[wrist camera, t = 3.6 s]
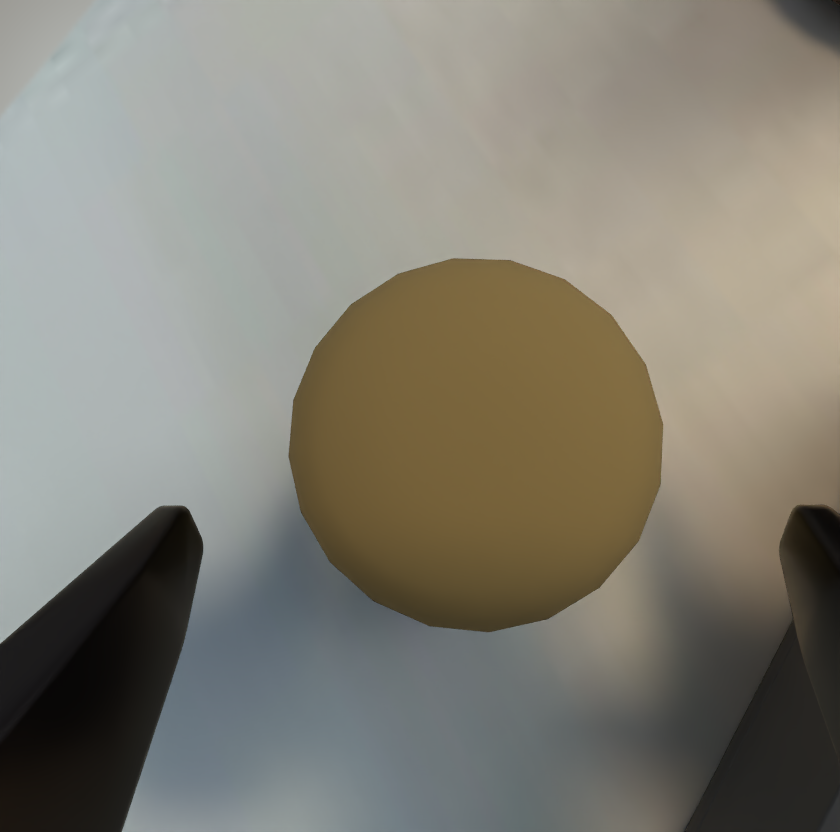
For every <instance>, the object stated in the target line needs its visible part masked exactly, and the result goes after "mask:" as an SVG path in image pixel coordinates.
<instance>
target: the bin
mask: <svg viewBox="0 0 840 832" xmlns="http://www.w3.org/2000/svg"><path fill="white" fill-rule="evenodd" d="M685 832H840V763H839V760H838V757H837V755H836V752H835V749H834V746H833V743H832V740H831V738H830V735H829V732H828V729H827V726H826V723H825V721H824V718H823V715H822V712H821V709H820V706H819V704H818V701H817V698H816V695H815V692H814V689H813V687H812V684H811V681H810V678H809V675H808V672H807V669H806V666H805V663H804V660H803V657H802V653H801V649H800V645H799V641H798V636H797V632H796V627H795V623H794V620H793V622H792V624H791V626H790V627H789V629H788V631H787V633H786V635H785V637H784V639H783V641H782V643H781V645H780V647H779V649H778V651H777V653H776V655H775V657H774V659H773V661H772V663H771V665H770V667H769V669H768V670H767V672H766V674H765V676H764V678H763V680H762V682H761V684H760V686H759V688H758V690H757V692H756V694H755V696H754V698H753V700H752V702H751V704H750V706H749V708H748V710H747V712H746V713H745V715H744V717H743V719H742V721H741V723H740V725H739V727H738V729H737V731H736V733H735V735H734V737H733V739H732V741H731V743H730V745H729V747H728V749H727V751H726V753H725V755H724V756H723V758H722V760H721V762H720V764H719V766H718V768H717V770H716V772H715V774H714V776H713V778H712V780H711V782H710V784H709V786H708V788H707V790H706V792H705V794H704V796H703V798H702V799H701V801H700V803H699V805H698V807H697V809H696V811H695V813H694V815H693V817H692V819H691V821H690V823H689V825H688V827H687V829H686V831H685Z"/></svg>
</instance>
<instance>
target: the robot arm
mask: <svg viewBox="0 0 840 832" xmlns="http://www.w3.org/2000/svg"><path fill="white" fill-rule="evenodd" d="M779 554H780V560H781V565H782V569H783V574H784V578H785V583H786V587H787V592H788V596H789V601H790V605H791V609H792V614H793V618H794V623H795V627H796V632H797V636H798V641H799V645H800V649H801V653H802V657H803V660H804V663H805V666H806V669H807V672H808V675H809V678H810V681H811V684H812V687H813V689H814V692H815V695H816V698H817V701H818V704H819V706H820V709H821V712H822V715H823V718H824V721H825V723H826V726H827V729H828V732H829V735H830V738H831V740H832V743H833V746H834V749H835V752H836V755H837V757H838V760H839V763H840V514H838V513H837V512H836V511H835V510H834V509H832V508H831V507H829V506H826V505H797V506H796V507H795V508H793V510H792V512H791V514H790V517H789V520H788V522H787V525H786V528H785V530H784V533H783V535H782V538H781V541H780V546H779ZM202 555H203V541H202V537H201V535H200V533H199V531H198V528H197V526H196V524H195V522H194V520H193V518H192V515H191V513H190V511H189V510H188V509H187V508H186V507H185V506H160V507H158V508H157V509H155V510H154V511H153V512H152V513H150V514H149V515H148V516H147V517H146V518H145V519H144V520H142V521H141V522H140V523H139V524H138V525H137V526H135V527H134V528H133V529H132V530H131V531H130V532H129V533H127V534H126V535H125V536H124V537H123V538H122V539H120V540H119V541H118V542H117V543H116V544H115V545H114V546H112V547H111V548H110V549H109V550H108V551H107V552H105V553H104V554H103V555H102V556H101V557H100V558H99V559H97V560H96V561H95V562H94V563H93V564H92V565H90V566H89V567H88V568H87V569H86V570H85V571H84V572H82V573H81V574H80V575H79V576H78V577H77V578H76V579H74V580H73V581H72V582H71V583H70V584H69V585H67V586H66V587H65V588H64V589H63V590H62V591H61V592H59V593H58V594H57V595H56V596H55V597H54V598H52V599H51V600H50V601H49V602H48V603H47V604H46V605H44V606H43V607H42V608H41V609H40V610H39V611H37V612H36V613H35V614H34V615H33V616H32V617H31V618H29V619H28V620H27V621H26V622H25V623H24V624H22V625H21V626H20V627H19V628H18V629H17V630H16V631H14V632H13V633H12V634H11V635H10V636H9V637H8V638H6V639H5V640H4V641H3V642H2V643H1V644H0V832H122V829H123V826H124V823H125V820H126V817H127V814H128V811H129V808H130V805H131V802H132V799H133V796H134V793H135V790H136V787H137V784H138V781H139V778H140V775H141V772H142V768H143V765H144V762H145V759H146V756H147V753H148V750H149V747H150V744H151V741H152V738H153V735H154V732H155V729H156V726H157V723H158V720H159V717H160V714H161V711H162V708H163V705H164V702H165V699H166V696H167V693H168V690H169V687H170V684H171V681H172V678H173V675H174V671H175V668H176V665H177V662H178V659H179V656H180V653H181V650H182V646H183V643H184V639H185V635H186V631H187V627H188V622H189V617H190V612H191V608H192V603H193V598H194V593H195V589H196V584H197V579H198V574H199V570H200V565H201V560H202Z"/></svg>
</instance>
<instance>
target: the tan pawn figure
mask: <svg viewBox="0 0 840 832" xmlns="http://www.w3.org/2000/svg"><path fill="white" fill-rule="evenodd" d="M662 437H663V422H662V419H661V416H660V412H659V409H658V405H657V402H656V398H655V395H654V391H653V388H652V385H651V381H650V378H649V374H648V371H647V367H646V364H645V363H644V361H643V360H642V358H641V357H640V356H639V354H638V353H637V351H636V350H635V348H634V347H633V345H632V344H631V342H630V341H629V340H628V338H627V337H626V335H625V334H624V332H623V331H622V329H621V328H620V327H619V325H618V324H617V322H616V321H615V319H614V318H613V316H612V315H611V314H609V313H608V312H607V311H606V310H604V309H603V308H602V307H600V306H599V305H598V304H596V303H595V302H594V301H592V300H591V299H590V298H588V297H587V296H586V295H585V294H583V293H582V292H581V291H579V290H578V289H577V288H575V287H574V286H573V285H571V284H570V283H569V282H567V281H566V280H565V279H562V278H559V277H556V276H553V275H551V274H548V273H545V272H542V271H539V270H536V269H533V268H531V267H528V266H525V265H522V264H519V263H516V262H514V261H511V260H485V259H449V260H446V261H442V262H439V263H435V264H432V265H428V266H424V267H421V268H417V269H414V270H410V271H407V272H403V273H400V274H397V275H396V276H394V277H393V278H391V279H390V280H388V281H386V282H385V283H383V284H382V285H380V286H379V287H377V288H376V289H374V290H373V291H371V292H370V293H368V294H366V295H365V296H363V297H362V298H360V299H359V300H357V301H356V302H354V303H353V304H351V305H350V306H349V307H348V309H347V310H346V311H345V312H344V314H343V315H342V316H341V317H340V318H339V320H338V321H337V322H336V323H335V324H334V326H333V327H332V328H331V329H330V330H329V332H328V333H327V334H326V335H325V336H324V338H323V339H322V340H321V341H320V342H319V344H318V345H317V346H316V347H315V349H314V351H313V354H312V356H311V359H310V361H309V364H308V366H307V368H306V371H305V373H304V376H303V378H302V381H301V383H300V385H299V388H298V390H297V393H296V395H295V398H294V400H293V412H292V423H291V434H290V446H289V460H290V465H291V469H292V474H293V478H294V483H295V488H296V492H297V497H298V501H299V506H300V510H301V513H302V515H303V516H304V518H305V520H306V522H307V523H308V525H309V527H310V528H311V530H312V532H313V534H314V535H315V537H316V539H317V541H318V542H319V544H320V546H321V547H322V549H323V551H324V553H325V554H326V556H327V558H328V560H329V561H330V562H331V563H332V564H333V565H334V566H335V567H336V568H337V569H338V570H339V571H341V572H342V573H343V574H344V575H345V576H346V577H347V578H348V579H349V580H351V581H352V582H353V583H354V584H355V585H356V586H357V587H358V588H359V589H360V590H362V591H363V592H364V593H365V594H366V595H367V596H368V597H369V598H370V599H372V600H373V601H374V602H377V603H379V604H381V605H383V606H386V607H388V608H390V609H392V610H395V611H397V612H399V613H401V614H404V615H406V616H408V617H410V618H412V619H415V620H417V621H419V622H421V623H424V624H426V625H428V626H433V627H443V628H452V629H462V630H472V631H482V632H492V631H497V630H501V629H506V628H510V627H515V626H519V625H523V624H528V623H532V622H537V621H541V620H546V619H549V618H550V617H552V616H554V615H555V614H557V613H559V612H560V611H562V610H564V609H565V608H567V607H568V606H570V605H572V604H573V603H575V602H577V601H578V600H580V599H582V598H583V597H585V596H587V595H588V594H590V593H591V592H593V591H595V590H596V589H598V588H600V586H601V585H602V584H603V583H604V582H605V581H606V579H607V578H608V577H609V576H610V575H611V573H612V572H613V571H614V570H615V569H616V567H617V566H618V565H619V564H620V563H621V561H622V560H623V559H624V558H625V557H626V555H627V554H628V553H629V552H630V551H631V550H632V548H633V547H634V546H635V545H636V544H637V542H638V541H639V539H640V536H641V534H642V531H643V528H644V526H645V523H646V521H647V518H648V515H649V513H650V510H651V508H652V505H653V503H654V500H655V497H656V495H657V492H658V490H659V487H660V484H661V461H662Z"/></svg>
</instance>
